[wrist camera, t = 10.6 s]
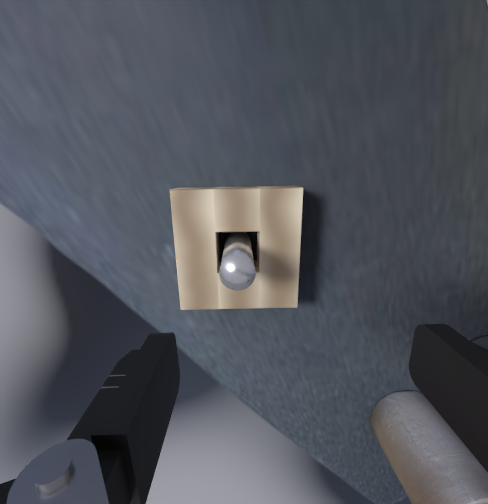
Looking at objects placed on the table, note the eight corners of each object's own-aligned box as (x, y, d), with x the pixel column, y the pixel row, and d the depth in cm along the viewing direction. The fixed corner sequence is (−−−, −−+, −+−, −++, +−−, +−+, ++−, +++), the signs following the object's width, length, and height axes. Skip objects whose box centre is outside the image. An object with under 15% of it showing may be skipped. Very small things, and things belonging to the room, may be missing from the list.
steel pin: (250, 230, 31) (255, 256, 21) (250, 254, 32) (255, 290, 22) (224, 230, 31) (218, 257, 21) (225, 255, 32) (220, 290, 22)
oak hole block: (295, 185, 30) (303, 187, 26) (290, 291, 33) (297, 307, 30) (178, 187, 29) (169, 189, 26) (187, 293, 33) (180, 309, 29)
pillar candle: (395, 448, 42) (479, 594, 27) (355, 417, 39) (424, 556, 25) (446, 412, 40) (565, 547, 25) (407, 376, 38) (513, 501, 23)
